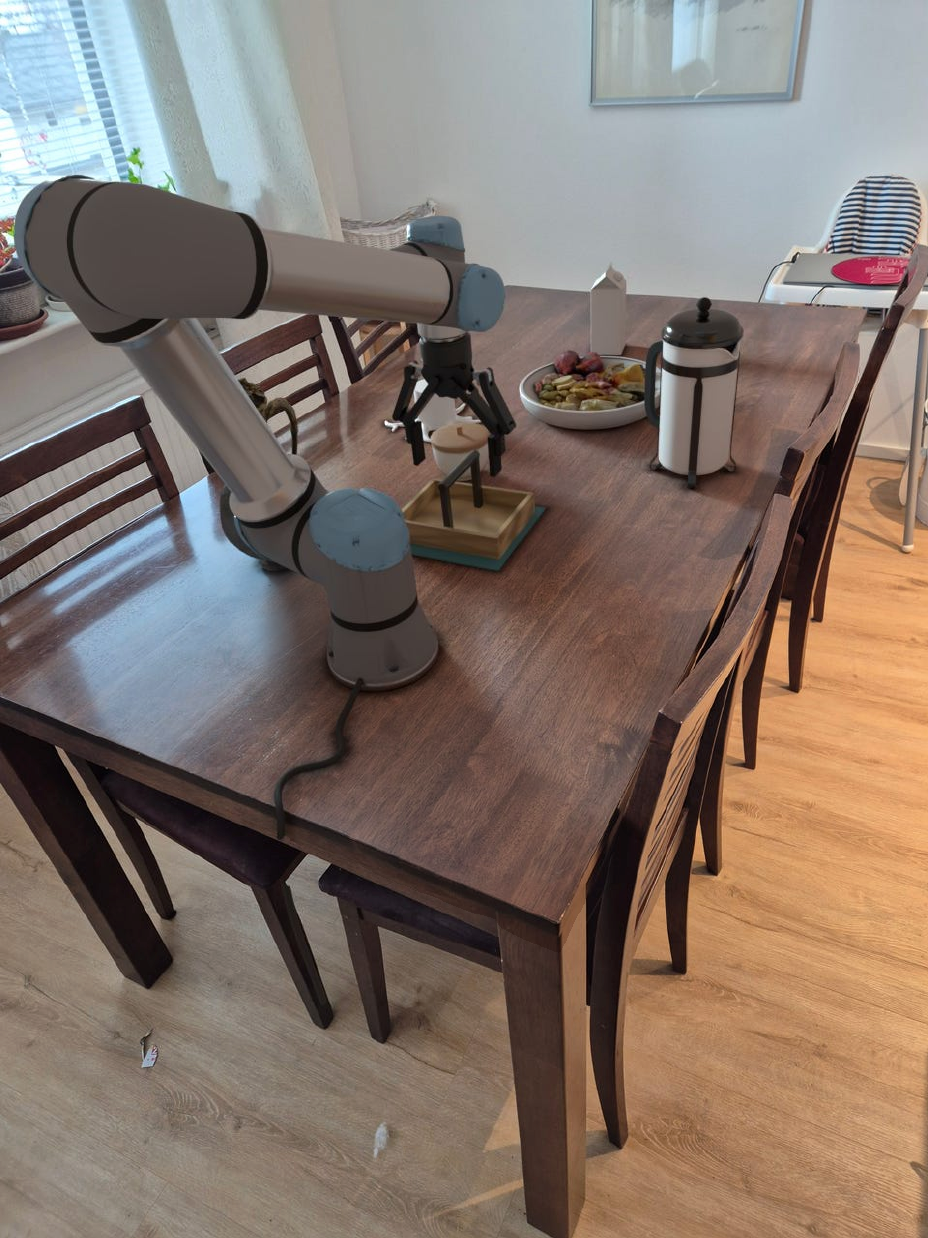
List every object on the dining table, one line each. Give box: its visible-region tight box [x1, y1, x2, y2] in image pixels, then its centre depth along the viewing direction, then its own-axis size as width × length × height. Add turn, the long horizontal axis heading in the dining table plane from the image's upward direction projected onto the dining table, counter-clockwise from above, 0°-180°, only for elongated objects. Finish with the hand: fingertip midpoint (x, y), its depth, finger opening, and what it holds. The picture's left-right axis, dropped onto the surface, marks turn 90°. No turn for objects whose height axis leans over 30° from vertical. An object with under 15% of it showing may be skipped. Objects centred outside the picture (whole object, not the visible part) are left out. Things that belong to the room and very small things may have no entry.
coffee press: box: [644, 296, 745, 489], centre depth 145 cm, size 17×16×30 cm
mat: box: [410, 505, 547, 572], centre depth 144 cm, size 20×21×1 cm
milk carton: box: [589, 261, 627, 356], centre depth 198 cm, size 7×7×19 cm
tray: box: [401, 450, 535, 560], centre depth 140 cm, size 15×19×11 cm
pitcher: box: [219, 377, 299, 572], centre depth 134 cm, size 11×19×30 cm, turn 156°
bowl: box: [519, 349, 662, 431], centre depth 177 cm, size 30×30×8 cm
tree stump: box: [384, 378, 483, 444], centre depth 177 cm, size 20×19×8 cm
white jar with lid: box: [430, 423, 491, 482], centre depth 157 cm, size 11×11×9 cm
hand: (457, 467), depth 137 cm, fingers open, 13 cm apart
